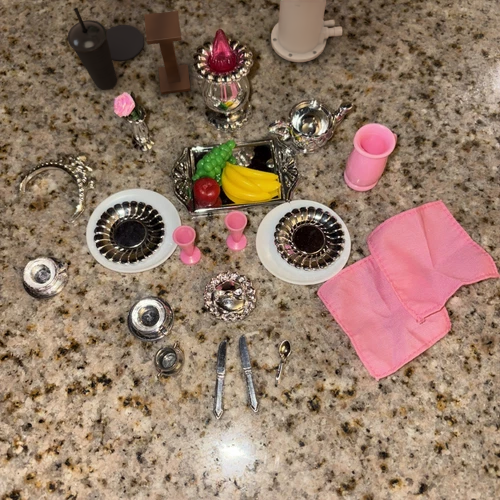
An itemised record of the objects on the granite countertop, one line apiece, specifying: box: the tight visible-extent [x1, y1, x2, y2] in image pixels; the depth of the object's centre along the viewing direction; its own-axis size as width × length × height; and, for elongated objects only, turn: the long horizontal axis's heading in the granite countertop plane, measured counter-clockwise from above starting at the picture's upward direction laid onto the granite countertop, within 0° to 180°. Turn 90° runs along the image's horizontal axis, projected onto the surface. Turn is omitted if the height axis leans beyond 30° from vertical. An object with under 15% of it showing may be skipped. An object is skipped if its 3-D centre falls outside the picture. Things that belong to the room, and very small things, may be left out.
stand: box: [143, 10, 192, 95], centre depth 101 cm, size 6×6×16 cm
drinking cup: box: [67, 7, 118, 91], centre depth 99 cm, size 8×8×20 cm
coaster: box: [106, 24, 145, 62], centre depth 112 cm, size 10×10×1 cm
